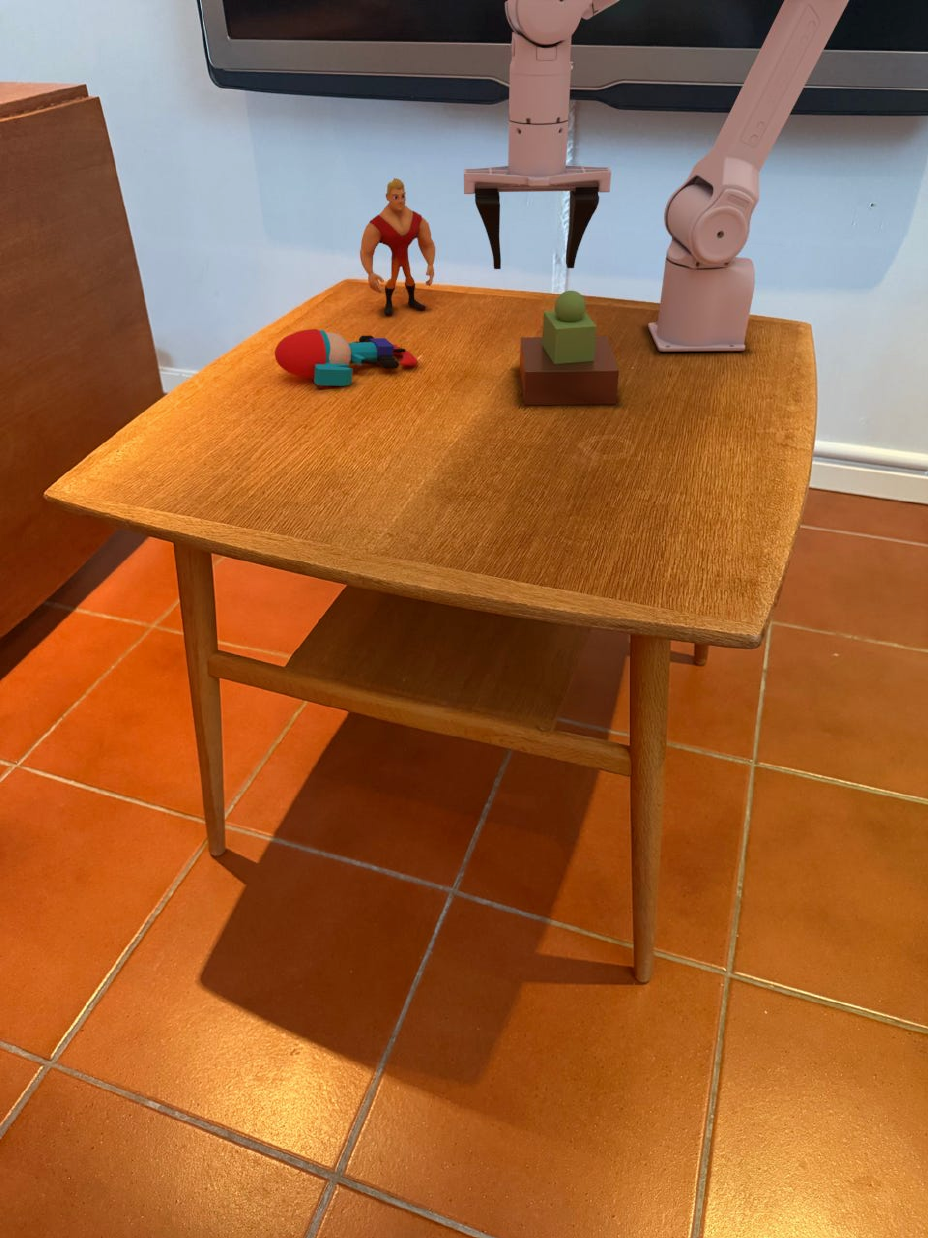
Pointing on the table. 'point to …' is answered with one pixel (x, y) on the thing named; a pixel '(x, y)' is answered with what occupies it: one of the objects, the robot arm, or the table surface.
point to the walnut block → (567, 376)
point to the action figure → (397, 244)
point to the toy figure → (335, 355)
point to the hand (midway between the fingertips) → (533, 265)
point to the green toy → (569, 330)
